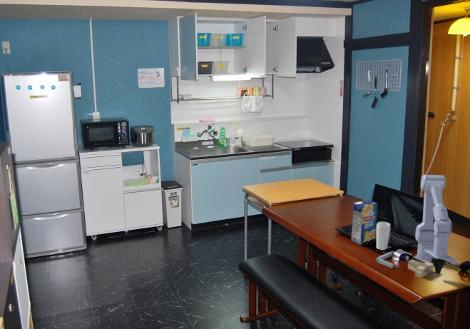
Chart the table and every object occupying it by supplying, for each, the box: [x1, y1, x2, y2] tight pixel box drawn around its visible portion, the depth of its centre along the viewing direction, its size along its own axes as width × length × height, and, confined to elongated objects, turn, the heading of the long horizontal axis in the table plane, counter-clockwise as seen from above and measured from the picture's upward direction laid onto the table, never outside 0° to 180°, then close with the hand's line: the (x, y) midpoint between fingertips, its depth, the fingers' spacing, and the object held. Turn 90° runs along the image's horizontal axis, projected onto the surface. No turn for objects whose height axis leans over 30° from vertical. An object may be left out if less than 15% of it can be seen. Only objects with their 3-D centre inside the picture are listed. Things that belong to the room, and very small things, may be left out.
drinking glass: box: [375, 221, 391, 250], centre depth 234 cm, size 7×7×15 cm
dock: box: [375, 250, 410, 269], centre depth 224 cm, size 14×9×2 cm, turn 127°
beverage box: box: [351, 199, 378, 246], centre depth 246 cm, size 7×11×22 cm, turn 120°
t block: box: [407, 259, 434, 279], centre depth 213 cm, size 10×9×4 cm
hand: (437, 273), depth 205 cm, fingers closed
